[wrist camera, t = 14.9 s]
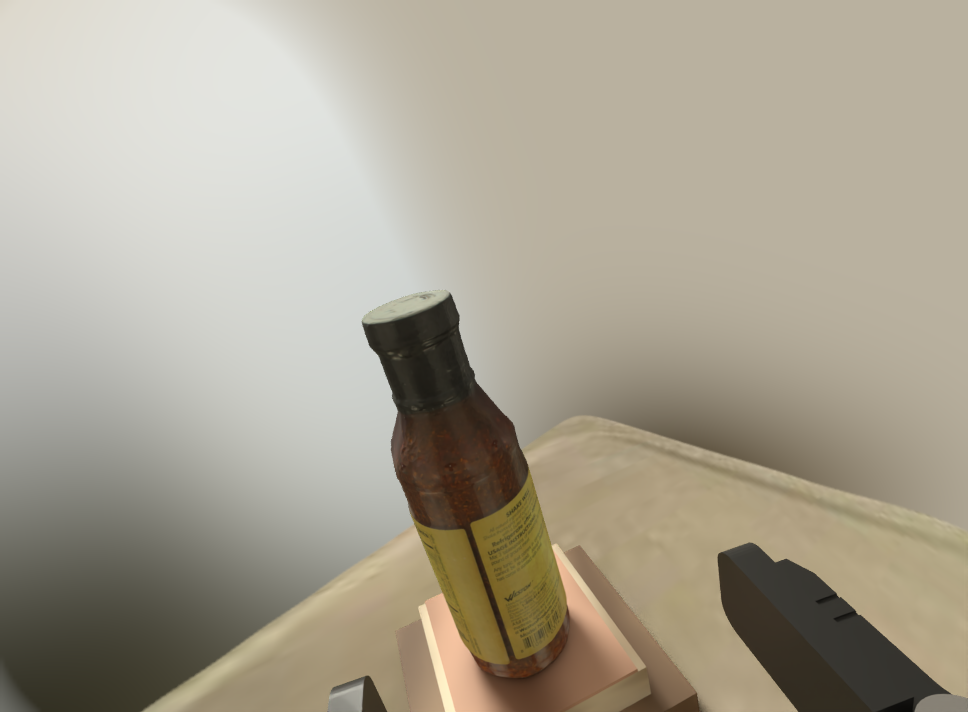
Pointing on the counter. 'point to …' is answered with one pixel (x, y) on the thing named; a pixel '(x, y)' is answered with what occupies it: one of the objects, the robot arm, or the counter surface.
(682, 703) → the pedestal
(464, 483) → the sauce bottle
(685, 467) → the counter surface
